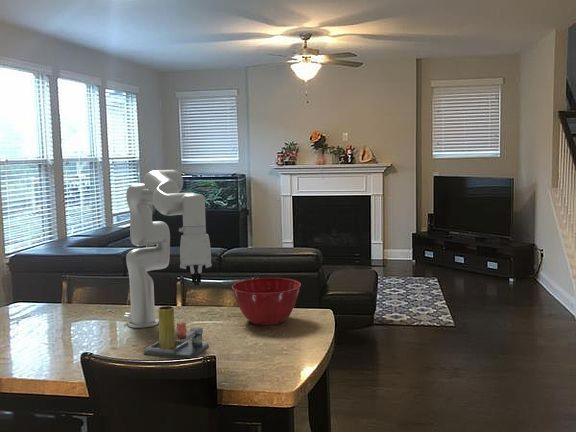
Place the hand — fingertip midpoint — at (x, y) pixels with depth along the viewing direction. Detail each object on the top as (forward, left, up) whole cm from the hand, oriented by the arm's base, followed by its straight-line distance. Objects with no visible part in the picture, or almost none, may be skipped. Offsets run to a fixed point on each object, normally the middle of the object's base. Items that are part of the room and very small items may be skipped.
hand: (196, 284), depth 204 cm
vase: (-14, +3, -24) cm, 28 cm away
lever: (-5, +3, -20) cm, 20 cm away
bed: (-11, +4, -25) cm, 28 cm away
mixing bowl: (+6, +49, -25) cm, 55 cm away
